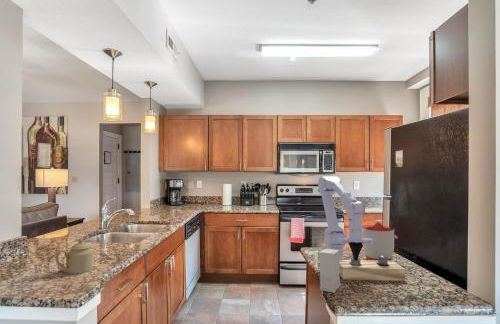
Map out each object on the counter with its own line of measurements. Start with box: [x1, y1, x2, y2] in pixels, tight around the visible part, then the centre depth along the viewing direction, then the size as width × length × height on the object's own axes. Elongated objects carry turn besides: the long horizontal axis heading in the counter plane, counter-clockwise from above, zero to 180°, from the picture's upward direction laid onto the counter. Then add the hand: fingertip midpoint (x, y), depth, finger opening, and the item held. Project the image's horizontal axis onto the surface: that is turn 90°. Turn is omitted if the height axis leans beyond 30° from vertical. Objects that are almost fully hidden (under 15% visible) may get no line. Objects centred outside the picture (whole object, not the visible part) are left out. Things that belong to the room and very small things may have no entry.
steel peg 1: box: [350, 258, 361, 266], centre depth 141 cm, size 4×4×5 cm
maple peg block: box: [339, 259, 406, 282], centre depth 140 cm, size 12×26×5 cm, turn 89°
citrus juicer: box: [362, 221, 399, 261], centre depth 164 cm, size 16×17×20 cm
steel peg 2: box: [378, 255, 388, 266], centre depth 140 cm, size 4×4×5 cm
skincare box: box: [319, 248, 341, 294], centre depth 125 cm, size 8×6×15 cm
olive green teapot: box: [54, 237, 94, 275], centre depth 144 cm, size 15×11×15 cm
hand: (355, 259), depth 141 cm, fingers closed, pressing on steel peg 1
